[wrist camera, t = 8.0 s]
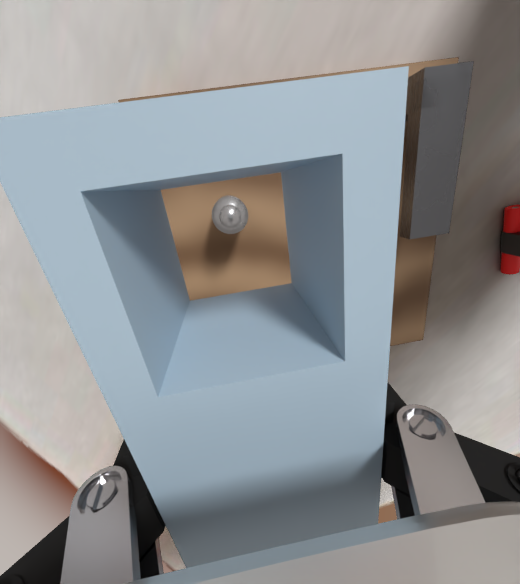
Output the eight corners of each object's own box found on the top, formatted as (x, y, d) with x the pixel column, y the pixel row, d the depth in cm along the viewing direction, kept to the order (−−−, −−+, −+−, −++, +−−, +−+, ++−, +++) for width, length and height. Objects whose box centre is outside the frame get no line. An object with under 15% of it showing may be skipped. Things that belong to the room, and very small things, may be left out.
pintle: (211, 197, 20) (207, 199, 16) (242, 192, 20) (246, 194, 16) (217, 228, 21) (215, 238, 17) (246, 224, 21) (251, 233, 17)
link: (327, 485, 15) (371, 614, 11) (226, 507, 15) (226, 651, 10) (308, 133, 8) (408, 66, 4) (118, 160, 8) (-30, 121, 3)
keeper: (384, 92, 19) (424, 67, 15) (423, 87, 19) (473, 61, 15) (378, 230, 23) (409, 239, 19) (411, 225, 23) (448, 233, 19)
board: (123, 104, 18) (118, 100, 17) (447, 63, 19) (458, 57, 19) (200, 375, 27) (199, 382, 26) (416, 334, 29) (423, 339, 28)
